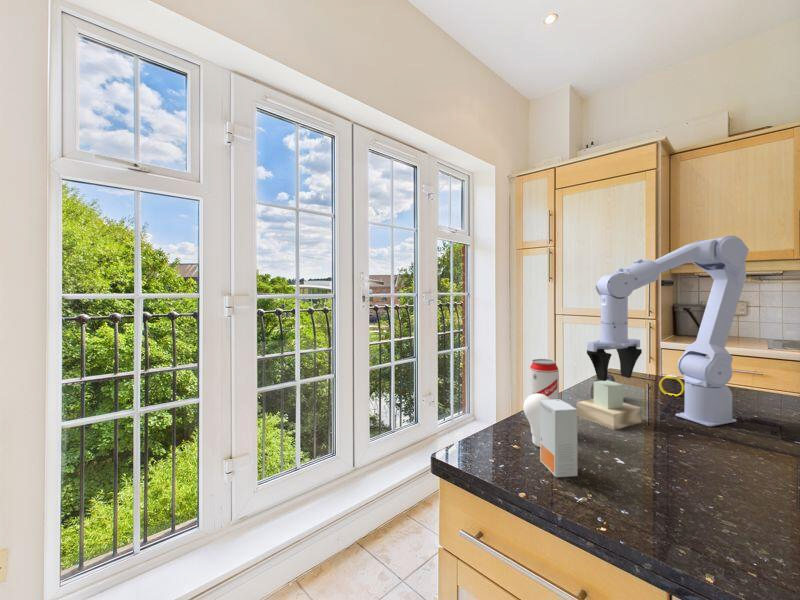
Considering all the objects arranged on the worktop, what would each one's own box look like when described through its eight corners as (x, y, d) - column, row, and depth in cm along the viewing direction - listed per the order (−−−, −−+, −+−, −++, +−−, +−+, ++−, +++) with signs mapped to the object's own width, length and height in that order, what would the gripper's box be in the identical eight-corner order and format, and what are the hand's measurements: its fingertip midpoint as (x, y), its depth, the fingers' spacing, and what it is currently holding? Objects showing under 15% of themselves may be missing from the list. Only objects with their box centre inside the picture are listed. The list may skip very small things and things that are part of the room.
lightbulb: (553, 442, 78) (553, 391, 78) (556, 454, 73) (556, 399, 72) (523, 438, 80) (523, 389, 80) (523, 450, 75) (523, 397, 74)
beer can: (561, 436, 81) (561, 364, 81) (532, 434, 83) (531, 363, 82) (555, 425, 88) (555, 358, 87) (528, 423, 89) (527, 358, 88)
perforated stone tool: (604, 410, 97) (604, 384, 97) (582, 406, 101) (582, 381, 101) (619, 397, 108) (619, 374, 108) (599, 394, 112) (599, 371, 112)
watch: (684, 397, 109) (686, 377, 108) (682, 399, 107) (684, 379, 106) (660, 391, 113) (662, 372, 113) (657, 393, 111) (659, 374, 111)
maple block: (603, 411, 98) (603, 396, 98) (641, 424, 89) (641, 407, 88) (576, 417, 94) (576, 402, 93) (613, 431, 84) (613, 414, 84)
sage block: (608, 401, 93) (608, 380, 93) (623, 407, 89) (623, 384, 89) (593, 403, 92) (593, 381, 92) (607, 409, 88) (607, 386, 88)
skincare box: (539, 461, 70) (538, 399, 69) (560, 460, 70) (560, 398, 70) (555, 478, 64) (555, 410, 63) (578, 477, 64) (578, 409, 64)
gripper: (604, 326, 84) (604, 385, 84) (651, 323, 88) (651, 379, 88) (580, 323, 90) (580, 378, 91) (625, 320, 95) (625, 373, 95)
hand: (614, 378), depth 90 cm, fingers open, 7 cm apart
